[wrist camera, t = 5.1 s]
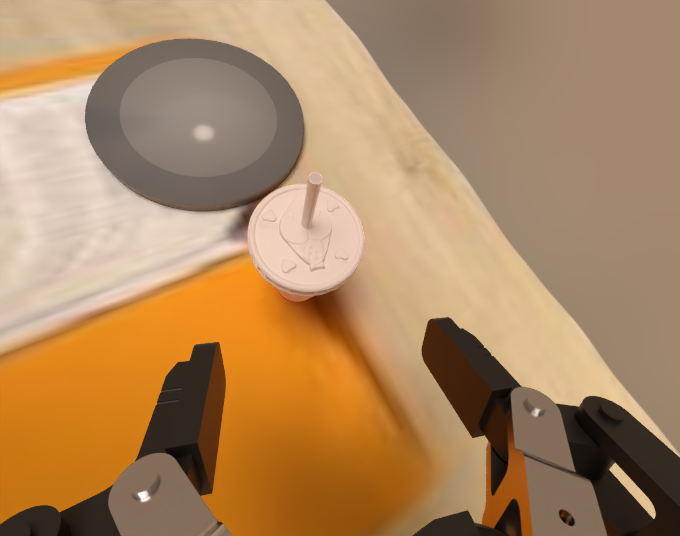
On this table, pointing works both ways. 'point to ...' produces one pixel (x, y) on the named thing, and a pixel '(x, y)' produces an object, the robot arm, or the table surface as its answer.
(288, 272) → the smoothie
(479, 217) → the table surface
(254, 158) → the dish
